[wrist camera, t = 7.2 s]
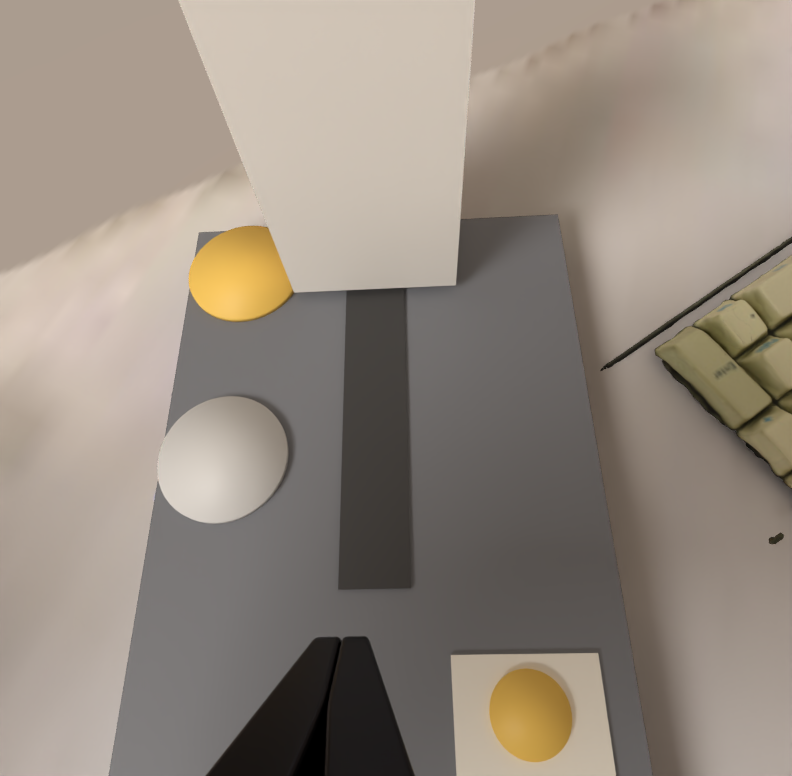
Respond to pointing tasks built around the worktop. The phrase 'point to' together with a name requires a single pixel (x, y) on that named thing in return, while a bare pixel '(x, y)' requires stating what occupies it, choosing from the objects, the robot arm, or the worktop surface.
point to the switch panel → (386, 515)
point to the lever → (347, 130)
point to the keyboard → (742, 362)
